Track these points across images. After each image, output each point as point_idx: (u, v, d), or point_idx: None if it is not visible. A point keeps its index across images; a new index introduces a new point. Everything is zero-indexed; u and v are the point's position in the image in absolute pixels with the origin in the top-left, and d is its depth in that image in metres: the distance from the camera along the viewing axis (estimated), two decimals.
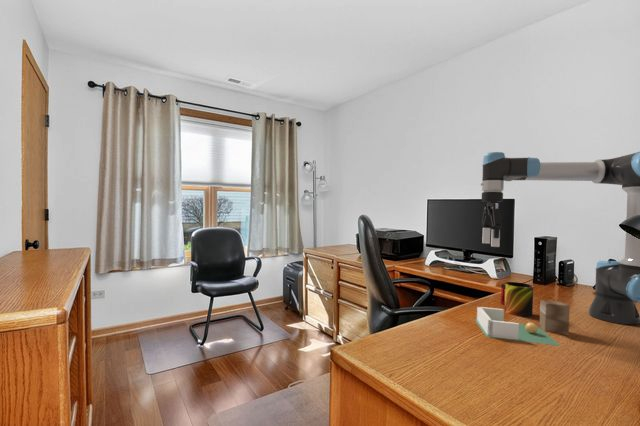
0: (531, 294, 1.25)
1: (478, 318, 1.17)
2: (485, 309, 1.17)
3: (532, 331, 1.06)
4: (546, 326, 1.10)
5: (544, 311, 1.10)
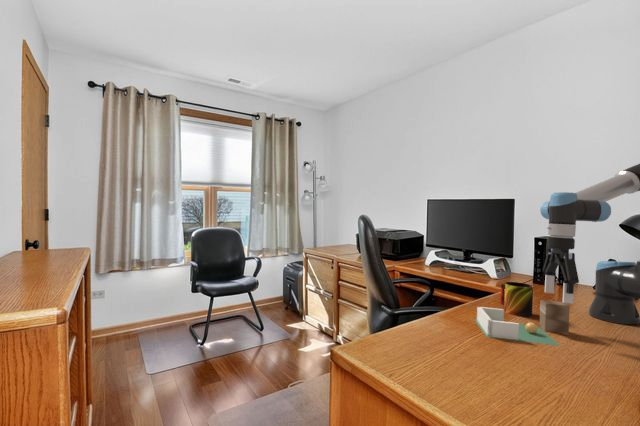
0: (531, 294, 1.25)
1: (478, 318, 1.17)
2: (485, 309, 1.17)
3: (532, 331, 1.06)
4: (546, 326, 1.10)
5: (544, 311, 1.10)
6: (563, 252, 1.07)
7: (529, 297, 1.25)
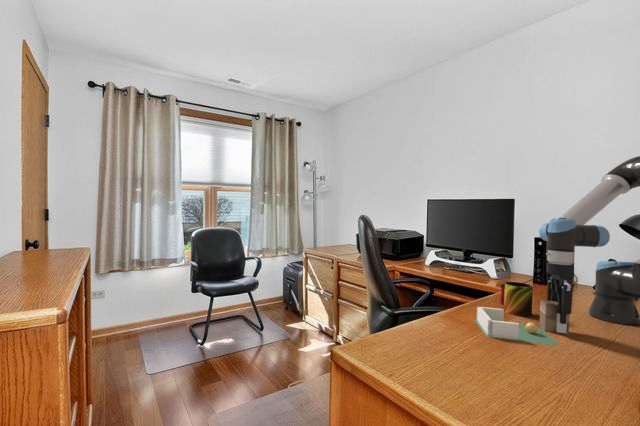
0: (530, 294, 1.26)
1: (478, 318, 1.17)
2: (485, 309, 1.17)
3: (532, 331, 1.06)
4: (546, 326, 1.10)
5: (544, 311, 1.10)
6: (563, 280, 1.07)
7: (529, 297, 1.25)
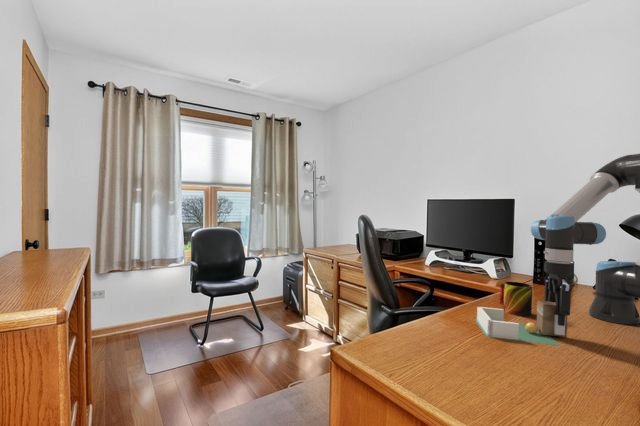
0: (530, 294, 1.26)
1: (478, 318, 1.17)
2: (485, 309, 1.17)
3: (532, 331, 1.06)
4: (543, 328, 1.04)
5: (541, 312, 1.05)
6: (561, 280, 1.02)
7: (528, 297, 1.25)
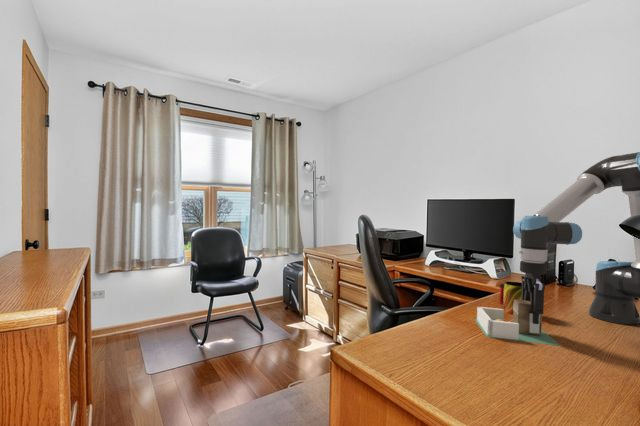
0: None
1: (478, 318, 1.17)
2: (485, 309, 1.17)
3: None
4: None
5: (517, 311, 1.07)
6: (535, 279, 1.04)
7: None
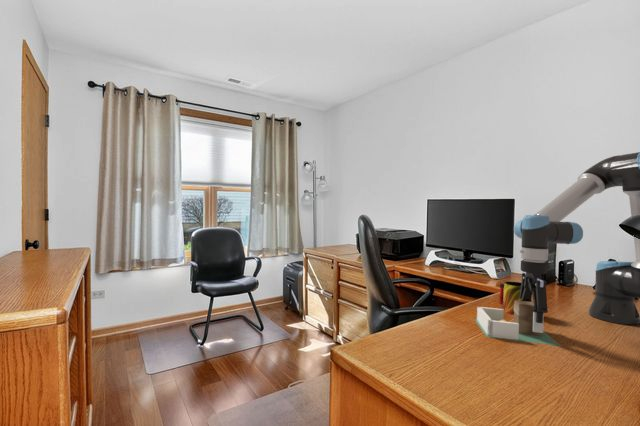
0: None
1: (478, 318, 1.17)
2: (485, 309, 1.17)
3: None
4: (519, 327, 1.06)
5: (517, 312, 1.07)
6: (535, 278, 1.04)
7: None
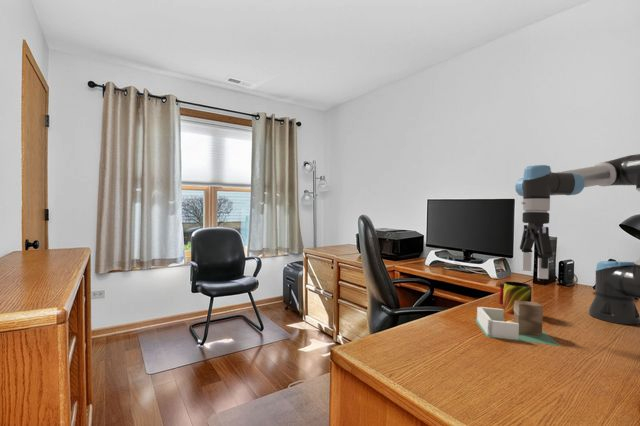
0: (529, 293, 1.26)
1: (478, 318, 1.17)
2: (485, 309, 1.17)
3: None
4: (519, 327, 1.06)
5: (517, 312, 1.07)
6: (537, 227, 1.04)
7: (528, 296, 1.26)
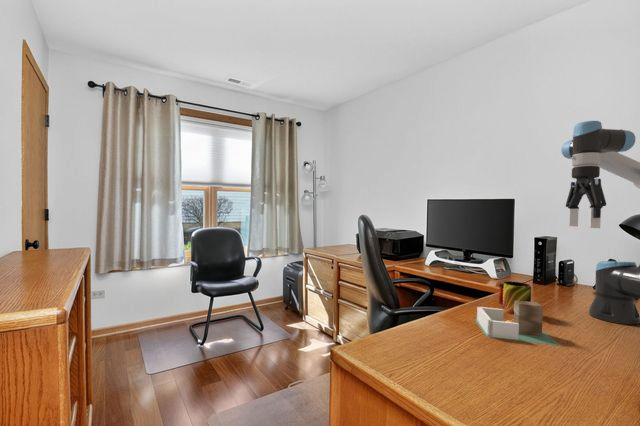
0: (529, 293, 1.26)
1: (478, 318, 1.17)
2: (485, 309, 1.17)
3: None
4: (519, 327, 1.06)
5: (517, 312, 1.07)
6: (588, 179, 1.08)
7: (527, 296, 1.26)
